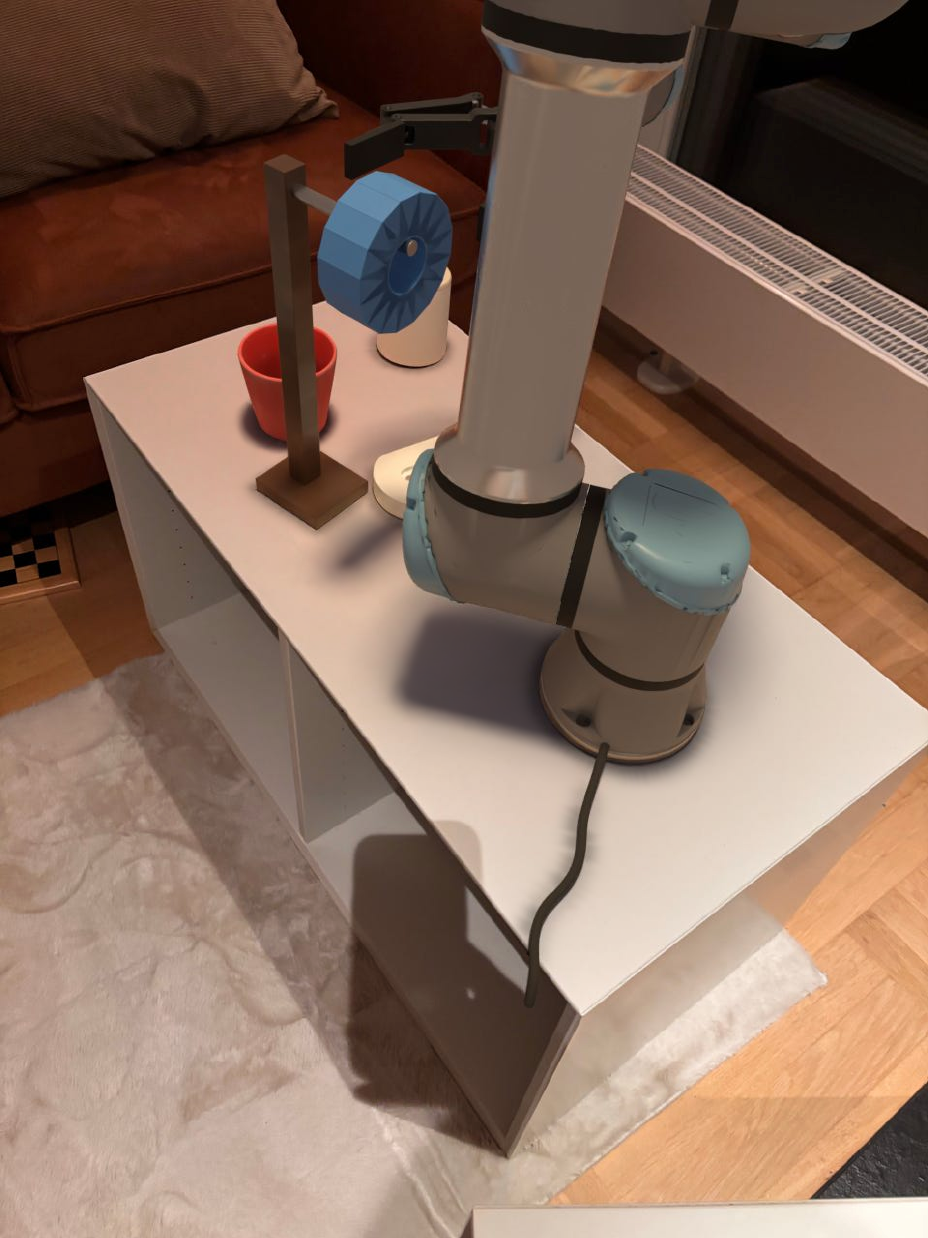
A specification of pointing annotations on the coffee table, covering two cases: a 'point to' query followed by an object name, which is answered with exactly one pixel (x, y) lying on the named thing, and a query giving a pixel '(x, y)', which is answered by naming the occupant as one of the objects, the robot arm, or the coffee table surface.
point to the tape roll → (384, 252)
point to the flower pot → (265, 376)
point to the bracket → (397, 476)
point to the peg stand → (301, 354)
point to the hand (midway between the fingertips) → (412, 192)
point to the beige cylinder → (421, 333)
